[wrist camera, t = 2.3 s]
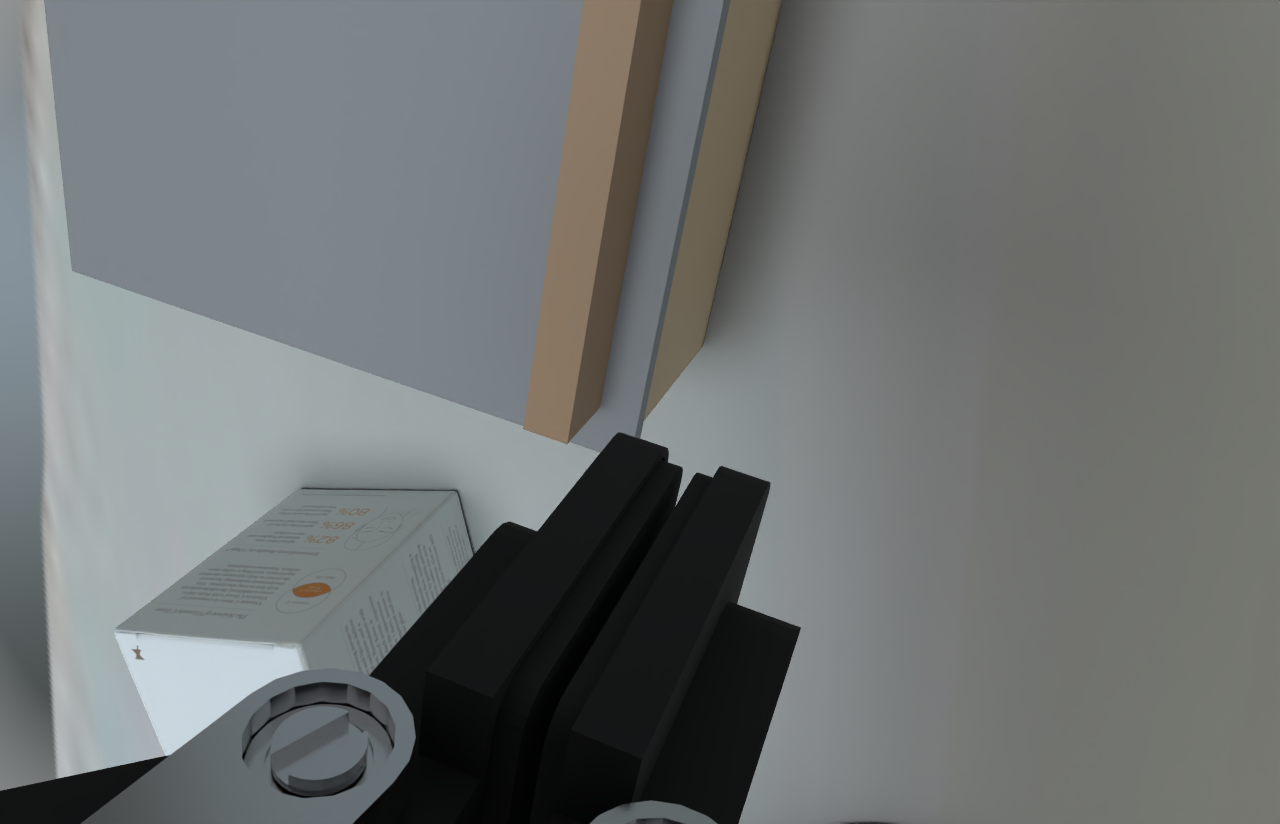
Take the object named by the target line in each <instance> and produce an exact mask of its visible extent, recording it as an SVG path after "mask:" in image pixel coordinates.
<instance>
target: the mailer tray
mask: <svg viewBox="0 0 1280 824" xmlns="http://www.w3.org/2000/svg"><path fill="white" fill-rule="evenodd" d="M781 4H782V0H731V1H730V6H729V11H728V16H727V20H726V25H725V30H724V35H723V40H722V45H721V49H720V54H719V59H718V64H717V69H716V74H715V78H714V83H713V88H712V93H711V98H710V103H709V107H708V112H707V117H706V122H705V127H704V131H703V136H702V141H701V146H700V151H699V156H698V160H697V165H696V170H695V175H694V180H693V185H692V189H691V194H690V199H689V204H688V209H687V214H686V218H685V223H684V228H683V233H682V238H681V243H680V247H679V252H678V257H677V262H676V267H675V272H674V276H673V281H672V286H671V291H670V296H669V301H668V305H667V310H666V315H665V320H664V325H663V330H662V334H661V339H660V344H659V349H658V354H657V359H656V363H655V368H654V373H653V378H652V383H651V388H650V392H649V397H648V402H647V407H646V412H645V417H644V420H645V419H646V417H647V416H648V415H649V414H650V412H651V411H652V410H653V409H654V407H655V406H656V405H657V403H658V402H659V401H660V400H661V398H662V397H663V396H664V395H665V393H666V392H667V391H668V390H669V388H670V387H671V386H672V384H673V383H674V382H675V381H676V379H677V378H678V377H679V376H680V374H681V373H682V372H683V371H684V369H685V368H686V367H687V365H688V364H689V363H690V362H691V360H692V359H693V358H694V357H695V355H696V354H697V353H698V352H699V350H700V349H701V348H702V346H703V342H704V338H705V334H706V329H707V325H708V321H709V316H710V312H711V308H712V303H713V299H714V295H715V290H716V286H717V282H718V277H719V273H720V269H721V264H722V260H723V256H724V251H725V247H726V243H727V238H728V234H729V229H730V225H731V221H732V216H733V212H734V208H735V203H736V199H737V195H738V190H739V186H740V182H741V177H742V173H743V169H744V164H745V160H746V156H747V151H748V147H749V143H750V138H751V134H752V130H753V125H754V121H755V117H756V112H757V108H758V104H759V99H760V95H761V91H762V86H763V82H764V77H765V73H766V69H767V64H768V60H769V56H770V51H771V47H772V43H773V38H774V34H775V30H776V25H777V21H778V17H779V12H780V8H781Z"/></svg>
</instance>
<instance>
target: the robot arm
mask: <svg viewBox="0 0 1280 824" xmlns="http://www.w3.org/2000/svg"><path fill="white" fill-rule="evenodd" d="M668 455H669V451H668V448H666V447H663V446H660V445H657V444H654V443H651V442H648V441H645V440H642V439H639V438H636V437H633V436H630V435H627V434H624V433H621V432H618V433H617V434H616V435H615V436H614V437H613V438H612V439H611V440H610V442H609V443H608V444H607V445H606V447H605V448H604V449H603V450H602V452H601V453H600V454H599V455H598V457H597V458H596V459H595V460H594V462H593V463H592V464H591V465H590V467H589V468H588V469H587V470H586V472H585V473H584V474H583V475H582V477H581V478H580V479H579V480H578V481H577V483H576V484H575V485H574V486H573V488H572V489H571V490H570V491H569V493H568V494H567V495H566V496H565V498H564V499H563V500H562V501H561V503H560V504H559V505H558V506H557V508H556V509H555V510H554V511H553V513H552V514H551V515H550V516H549V518H548V519H547V520H546V521H545V523H544V524H543V525H542V526H541V528H540V529H539V530H538V531H534V530H532V529H529V528H526V527H523V526H521V525H518V524H515V523H512V522H507V523H503V524H502V525H501V526H500V527H499V528H498V529H496V530H495V531H494V532H493V534H492V535H491V536H490V537H489V538H488V539H487V540H486V542H485V543H484V544H483V545H482V546H481V547H480V549H479V550H478V551H477V552H476V553H475V554H474V555H473V557H472V558H471V559H470V560H469V561H468V562H467V563H466V565H465V566H464V567H463V568H462V569H461V570H460V571H459V573H458V574H457V575H456V576H455V577H454V578H453V579H452V581H451V582H450V583H449V584H448V585H447V586H446V588H445V589H444V590H443V591H442V592H441V593H440V594H439V596H438V597H437V598H436V599H435V600H434V601H433V602H432V604H431V605H430V606H429V607H428V608H427V609H426V610H425V612H424V613H423V614H422V615H421V616H420V617H419V618H418V620H417V621H416V622H415V623H414V624H413V625H412V627H411V628H410V629H409V630H408V631H407V632H406V633H405V635H404V636H403V637H402V638H401V639H400V640H399V641H398V643H397V644H396V645H395V646H394V647H393V648H392V649H391V651H390V652H389V653H388V654H387V655H386V656H385V657H384V659H383V660H382V661H381V662H380V663H379V664H378V665H377V667H376V668H375V669H374V670H373V671H372V672H371V674H370V675H369V676H368V675H365V674H363V673H360V672H356V671H349V670H341V669H334V668H328V669H316V670H304V671H300V672H297V673H294V674H290V675H287V676H284V677H281V678H277V679H275V680H273V681H271V682H270V683H268V684H266V685H265V686H263V687H261V688H259V689H258V690H256V691H254V692H253V693H251V694H250V695H248V696H247V697H246V698H244V699H243V700H242V701H240V702H239V703H238V704H236V705H235V706H234V707H233V708H231V709H230V710H229V711H227V712H226V713H225V714H223V715H222V716H221V717H219V718H218V719H217V720H216V721H214V722H213V723H212V724H210V725H209V726H208V727H206V728H205V729H204V730H202V731H201V732H200V733H199V734H197V735H196V736H195V737H193V738H192V739H191V740H189V741H188V742H187V743H185V744H184V745H183V746H182V747H180V748H179V749H178V750H176V751H175V752H174V753H172V754H171V755H168V756H163V757H158V758H154V759H149V760H144V761H139V762H135V763H130V764H125V765H120V766H116V767H111V768H106V769H102V770H97V771H92V772H87V773H83V774H78V775H73V776H69V777H64V778H59V779H54V780H50V781H45V782H41V783H35V784H31V785H26V786H22V787H17V788H12V789H7V790H2V791H0V824H738V823H739V820H740V817H741V813H742V810H743V807H744V804H745V801H746V798H747V795H748V792H749V788H750V785H751V782H752V779H753V776H754V773H755V770H756V767H757V764H758V760H759V757H760V754H761V751H762V748H763V745H764V742H765V739H766V735H767V732H768V729H769V726H770V723H771V720H772V717H773V714H774V710H775V707H776V704H777V701H778V698H779V695H780V692H781V689H782V685H783V682H784V679H785V676H786V673H787V670H788V667H789V664H790V661H791V657H792V654H793V651H794V648H795V645H796V642H797V639H798V636H799V632H800V629H801V628H800V627H798V626H795V625H792V624H789V623H787V622H784V621H781V620H778V619H776V618H773V617H770V616H767V615H765V614H762V613H759V612H756V611H754V610H751V609H748V608H745V607H743V606H740V605H737V602H738V598H739V595H740V591H741V588H742V585H743V581H744V578H745V574H746V571H747V567H748V564H749V560H750V557H751V553H752V550H753V546H754V543H755V539H756V536H757V532H758V529H759V525H760V522H761V518H762V515H763V511H764V508H765V504H766V501H767V497H768V494H769V489H770V482H767V481H764V480H762V479H759V478H756V477H753V476H750V475H747V474H744V473H741V472H738V471H735V470H732V469H729V468H726V467H723V466H720V467H719V468H718V470H717V471H716V473H715V475H714V477H713V478H712V477H709V476H706V475H703V474H701V473H696V474H695V475H694V477H693V478H692V480H691V482H690V483H689V485H688V487H687V488H686V490H685V492H684V493H683V495H682V497H681V498H680V500H679V502H678V503H677V505H676V501H677V496H678V492H679V488H680V484H681V479H682V472H683V469H682V467H680V466H677V465H674V464H671V463H668ZM675 505H676V507H675Z"/></svg>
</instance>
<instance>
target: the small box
mask: <svg viewBox="0 0 1280 824" xmlns="http://www.w3.org/2000/svg"><path fill="white" fill-rule="evenodd" d="M472 557H473V553H472V549H471V545H470V541H469V537H468V533H467V529H466V525H465V522H464V518H463V514H462V510H461V506H460V502H459V497H458V494H457V492H455V491H403V490H315V489H300V490H297V491H296V492H294V493H293V494H291V495H290V496H289V497H288V498H286V499H285V500H284V501H282V502H281V503H280V504H278V505H277V506H276V507H274V508H273V509H272V510H270V511H269V512H267V513H266V514H265V515H263V516H262V517H261V518H260V519H258V520H257V521H256V522H254V523H253V524H252V525H250V526H249V527H248V528H246V529H245V530H244V531H243V532H241V533H240V534H239V535H237V536H236V537H235V538H233V539H232V540H231V541H229V542H228V543H227V544H226V545H224V546H223V547H221V548H220V549H219V550H217V551H216V552H215V553H214V554H212V555H211V556H210V557H208V558H207V559H206V560H205V561H203V562H202V563H201V564H199V565H198V566H197V567H195V568H194V569H193V570H191V571H190V572H189V573H187V574H186V575H185V576H184V577H182V578H181V579H180V580H178V581H177V582H176V583H174V584H173V585H172V586H171V587H169V588H168V589H167V590H165V591H164V592H163V593H162V594H160V595H159V596H157V597H156V598H155V599H153V600H152V601H151V602H150V603H148V604H147V605H146V606H144V607H143V608H142V609H140V610H139V611H138V612H136V613H135V614H134V615H132V616H131V617H130V618H129V619H127V620H126V621H125V622H123V623H122V624H120V625H119V626H118V627H116V628H115V630H114V633H115V637H116V639H117V641H118V644H119V646H120V649H121V651H122V654H123V656H124V659H125V661H126V664H127V666H128V668H129V671H130V673H131V676H132V678H133V680H134V683H135V685H136V687H137V689H138V692H139V694H140V697H141V699H142V702H143V704H144V706H145V709H146V711H147V713H148V716H149V718H150V721H151V723H152V726H153V728H154V730H155V733H156V735H157V737H158V740H159V742H160V744H161V746H162V748H163V751H164V753H165V755H166V756H168V755H171V754H172V753H174V752H175V751H176V750H178V749H179V748H180V747H182V746H183V745H184V744H185V743H187V742H188V741H189V740H191V739H192V738H193V737H195V736H196V735H197V734H199V733H200V732H201V731H202V730H204V729H205V728H206V727H208V726H209V725H210V724H212V723H213V722H214V721H216V720H217V719H218V718H219V717H221V716H222V715H223V714H225V713H226V712H227V711H229V710H230V709H231V708H233V707H234V706H235V705H236V704H238V703H239V702H240V701H242V700H243V699H244V698H246V697H247V696H248V695H250V694H251V693H253V692H254V691H256V690H258V689H259V688H261V687H263V686H265V685H266V684H268V683H270V682H271V681H273V680H275V679H277V678H281V677H284V676H287V675H290V674H294V673H297V672H300V671H304V670H316V669H328V668H334V669H341V670H349V671H356V672H360V673H363V674H365V675H368V676H369V675H370V674H371V672H372V671H373V670H374V669H375V668H376V667H377V665H378V664H379V663H380V662H381V661H382V660H383V659H384V657H385V656H386V655H387V654H388V653H389V652H390V651H391V649H392V648H393V647H394V646H395V645H396V644H397V643H398V641H399V640H400V639H401V638H402V637H403V636H404V635H405V633H406V632H407V631H408V630H409V629H410V628H411V627H412V625H413V624H414V623H415V622H416V621H417V620H418V618H419V617H420V616H421V615H422V614H423V613H424V612H425V610H426V609H427V608H428V607H429V606H430V605H431V604H432V602H433V601H434V600H435V599H436V598H437V597H438V596H439V594H440V593H441V592H442V591H443V590H444V589H445V588H446V586H447V585H448V584H449V583H450V582H451V581H452V579H453V578H454V577H455V576H456V575H457V574H458V573H459V571H460V570H461V569H462V568H463V567H464V566H465V565H466V563H467V562H468V561H469V560H470V559H471V558H472Z"/></svg>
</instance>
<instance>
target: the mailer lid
mask: <svg viewBox="0 0 1280 824" xmlns="http://www.w3.org/2000/svg"><path fill="white" fill-rule="evenodd" d="M730 1H731V0H44V4H45V13H46V23H47V33H48V42H49V52H50V62H51V71H52V81H53V91H54V101H55V110H56V120H57V130H58V139H59V149H60V159H61V168H62V178H63V188H64V197H65V207H66V217H67V227H68V236H69V246H70V256H71V265H72V271H74V272H77V273H80V274H83V275H86V276H89V277H92V278H94V279H97V280H100V281H103V282H106V283H109V284H112V285H115V286H118V287H121V288H124V289H126V290H129V291H132V292H135V293H138V294H141V295H144V296H147V297H150V298H153V299H156V300H158V301H161V302H164V303H167V304H170V305H173V306H176V307H179V308H182V309H185V310H188V311H190V312H193V313H196V314H199V315H202V316H205V317H208V318H211V319H214V320H217V321H220V322H223V323H225V324H228V325H231V326H234V327H237V328H240V329H243V330H246V331H249V332H252V333H255V334H257V335H260V336H263V337H266V338H269V339H272V340H275V341H278V342H281V343H284V344H287V345H289V346H292V347H295V348H298V349H301V350H304V351H307V352H310V353H313V354H316V355H319V356H321V357H324V358H327V359H330V360H333V361H336V362H339V363H342V364H345V365H348V366H351V367H354V368H356V369H359V370H362V371H365V372H368V373H371V374H374V375H377V376H380V377H383V378H386V379H388V380H391V381H394V382H397V383H400V384H403V385H406V386H409V387H412V388H415V389H418V390H420V391H423V392H426V393H429V394H432V395H435V396H438V397H441V398H444V399H447V400H450V401H452V402H455V403H458V404H461V405H464V406H467V407H470V408H473V409H476V410H479V411H482V412H485V413H487V414H490V415H493V416H496V417H499V418H502V419H505V420H508V421H511V422H514V423H517V424H519V425H522V426H524V427H523V429H525V430H528V431H530V432H533V433H536V434H539V435H542V436H545V437H548V438H551V439H554V440H557V441H559V442H562V443H565V444H568V443H569V442H572V443H575V444H578V445H581V446H583V447H586V448H589V449H592V450H595V451H598V452H602V450H603V449H604V448H605V447H606V445H607V444H608V443H609V442H610V440H611V439H612V438H613V437H614V436H615V435H616V434H617V433H618V432H621V433H624V434H627V435H630V436H633V437H636V438H639V439H640V436H641V431H642V426H643V421H644V417H645V412H646V407H647V402H648V397H649V392H650V388H651V383H652V378H653V373H654V368H655V363H656V359H657V354H658V349H659V344H660V339H661V334H662V330H663V325H664V320H665V315H666V310H667V305H668V301H669V296H670V291H671V286H672V281H673V276H674V272H675V267H676V262H677V257H678V252H679V247H680V243H681V238H682V233H683V228H684V223H685V218H686V214H687V209H688V204H689V199H690V194H691V189H692V185H693V180H694V175H695V170H696V165H697V160H698V156H699V151H700V146H701V141H702V136H703V131H704V127H705V122H706V117H707V112H708V107H709V103H710V98H711V93H712V88H713V83H714V78H715V74H716V69H717V64H718V59H719V54H720V49H721V45H722V40H723V35H724V30H725V25H726V20H727V16H728V11H729V6H730Z"/></svg>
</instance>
